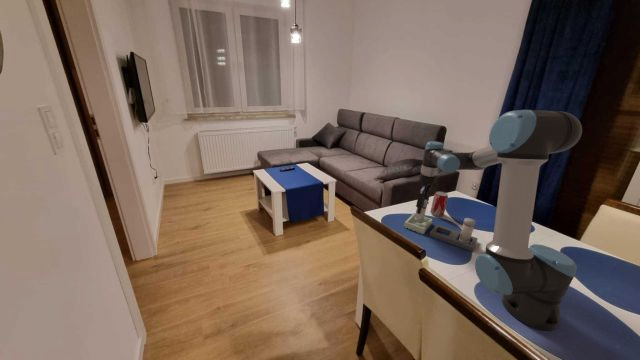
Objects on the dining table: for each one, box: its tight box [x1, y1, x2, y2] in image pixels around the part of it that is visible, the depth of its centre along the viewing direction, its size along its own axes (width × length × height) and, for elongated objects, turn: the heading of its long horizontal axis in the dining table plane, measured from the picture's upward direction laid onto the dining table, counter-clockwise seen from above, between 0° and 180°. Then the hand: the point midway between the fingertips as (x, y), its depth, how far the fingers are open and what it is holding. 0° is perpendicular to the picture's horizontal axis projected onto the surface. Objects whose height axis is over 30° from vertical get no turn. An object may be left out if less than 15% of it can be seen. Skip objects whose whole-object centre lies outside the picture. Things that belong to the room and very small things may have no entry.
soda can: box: [430, 190, 449, 218], centre depth 145 cm, size 7×7×13 cm
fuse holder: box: [429, 217, 478, 253], centre depth 122 cm, size 10×19×12 cm, turn 52°
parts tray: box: [403, 212, 433, 235], centre depth 134 cm, size 13×10×3 cm
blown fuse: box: [414, 199, 429, 223], centre depth 131 cm, size 5×5×12 cm
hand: (419, 216), depth 133 cm, fingers closed on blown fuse, 4 cm apart
